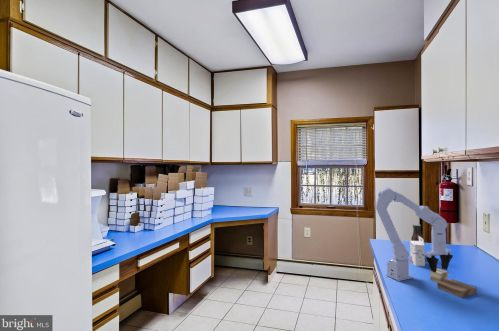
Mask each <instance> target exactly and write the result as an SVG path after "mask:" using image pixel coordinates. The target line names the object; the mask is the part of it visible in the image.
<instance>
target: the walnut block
mask: <svg viewBox="0 0 499 331" xmlns="http://www.w3.org/2000/svg"><path fill="white" fill-rule="evenodd" d="M436 284H437V289H438V290H441V291H444V292H445V293H449V294H451V295H453V296H455V297H458V298H460V299H461V298H464V297H465V298H466V297H469V296H472V295H476V294H477V287H475V286H473V285H470V284H468V283H465V282H462V281H459V280H456V279H453V278H451V279H448V280H446V281H442V282H437V283H436Z"/></svg>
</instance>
